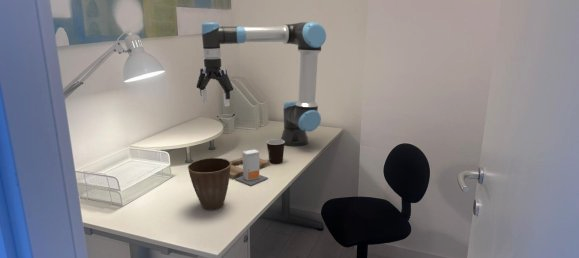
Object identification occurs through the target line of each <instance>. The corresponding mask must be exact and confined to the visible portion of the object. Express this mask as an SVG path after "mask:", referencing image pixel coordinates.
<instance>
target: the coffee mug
mask: <svg viewBox="0 0 579 258" xmlns="http://www.w3.org/2000/svg"><path fill="white" fill-rule="evenodd" d="M284 144H285V141H284V140H281V138H280V139H279V138H274V139H273V138H272V139H269V140H267V141H266V147H267V148H266V149H267V153H268V161H270V164H272V165H279V164H282V163H283V161H284V151H285V145H284Z"/></svg>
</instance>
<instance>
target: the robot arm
mask: <svg viewBox="0 0 579 258" xmlns="http://www.w3.org/2000/svg"><path fill="white" fill-rule="evenodd" d="M201 37H202V38H201V39H202V40H201V41H202V50H203V51H202V52H203V58H204V59H203V63H204V64H203V65H204V68H199V70H200V71H199V72H200V73H199V76H198V80H197V83H196V88H197V89H199V93H200V96H201V104H202V105H205V104H208V94H207V89H206V87H207V86H208V85H209V83H210V80H215V81H217V82H218V83H219V85H220V86H221V88H222V90H223V91H224V92H223V104H224V105H223V106H224V108H226V107H230V106H231V105H230V99H231V92H232V91H234V87H233V85H232V83H231V80H230V78H229V76H228V72H227V69H225V68H224V69H221V67H222V59H221V56H222V53H221V45H232V44H238V45H240V44H245V43H268V42H269V43H277V42H278V43H282V44H284V45H287V44H289V45H296V46H297V51H298V52H299V53H300V58H299V60H300V62H299V78H298V79H299V81H298V83H299V84H298V85H299V86H298V101H287V102H284V104H283V108H282V109H283V130H282V135H281V136H280V137H281V138H280V140H284V141H285V144H284V146H290V147H300V146H304V145H306V144H307V145H308V143H309V137H308V135H307V133H308V132H309V133H310V132H313V131H315V130H316V129H318V128H319V126H320V125H321V121H322V116H321V114H320V113H319V111H318V110H319V108H318V107H319V105H318V103H317V102H316V93H317V92H316V91H317V78H318V77H317V73H318V59H319V58H318V57H319V54H320V53H321V52H322V46H324V44H325V42H326V40H327V33H326V30H325V28H324V27H323V25H322V24H320V23H318V22H315V21H308V22H307V21H306V22H303V21H302V22H296V23H290V24H283V25H281V26H277V25H275V26H274V25H273V26H269V25H268V26H244V25H243V26H241V25H240V26H239V25H238V26H237V25H236V26H235V25H234V26H226V25H225V26H224V25H223V26H220V23H219V22H214V21H213V22H202V23H201Z"/></svg>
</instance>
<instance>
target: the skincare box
mask: <svg viewBox="0 0 579 258" xmlns="http://www.w3.org/2000/svg"><path fill="white" fill-rule="evenodd" d="M242 157H243V165H242V169H243V177H244V178H245V179H246V180H247V181H248V180H252V179H258V178H260V175H261V174H260V169H259V158H260V152H259V151H258V150H257V149H250V150H249V149H248V150H243V151H242Z"/></svg>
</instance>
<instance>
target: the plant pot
mask: <svg viewBox="0 0 579 258" xmlns="http://www.w3.org/2000/svg"><path fill="white" fill-rule="evenodd" d="M230 162H231V160H228V159H227V158H220V157H209V158H202V159H198V160H196V161H193V162H191V163H189V164H188V166H187V169H188V174H189V178H190V181H191V185H192V186H193V189H194V191H195V194H196V197H197V199H198V201H199V203H200V205H201V207H202V208H203V209H204V210H206V211H207V210H208V211H215V210H219V209H220V208H222V207H223V206H224V203H225V200H226V197H227V192H228V189H229V183H230V178H229V177H230V166H231V163H230Z"/></svg>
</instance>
